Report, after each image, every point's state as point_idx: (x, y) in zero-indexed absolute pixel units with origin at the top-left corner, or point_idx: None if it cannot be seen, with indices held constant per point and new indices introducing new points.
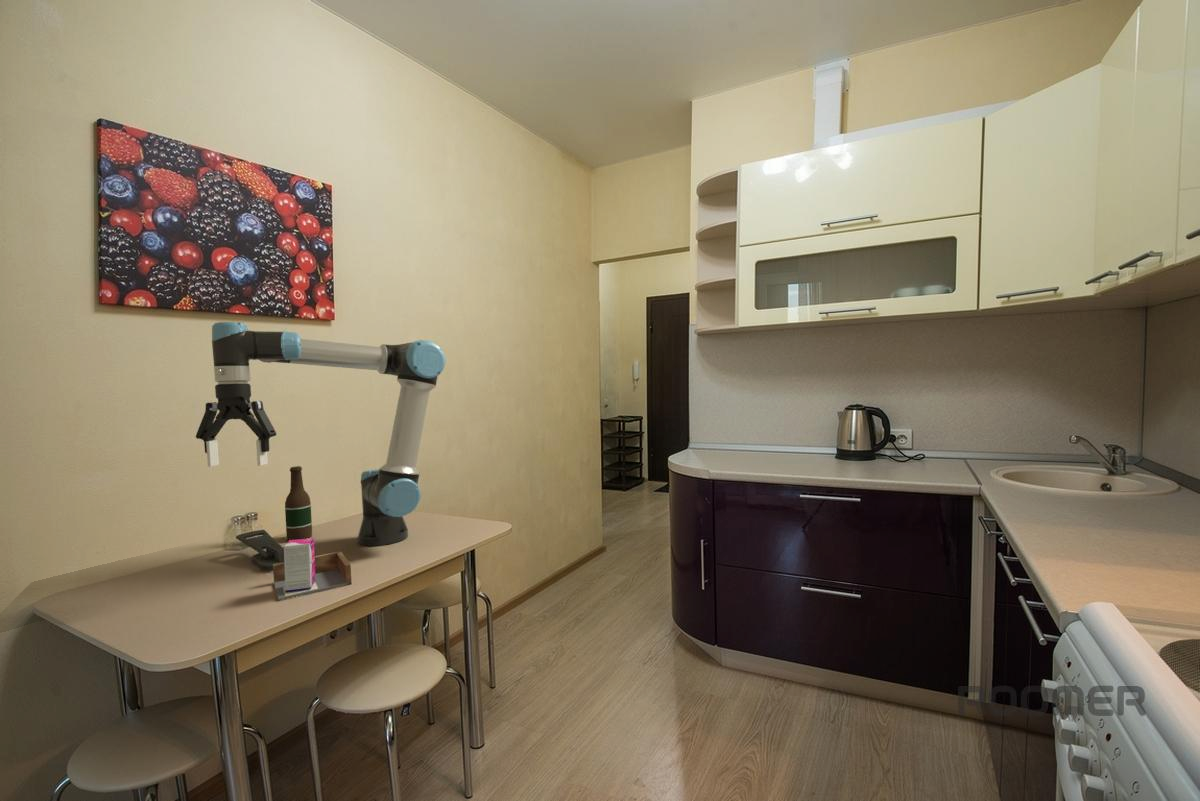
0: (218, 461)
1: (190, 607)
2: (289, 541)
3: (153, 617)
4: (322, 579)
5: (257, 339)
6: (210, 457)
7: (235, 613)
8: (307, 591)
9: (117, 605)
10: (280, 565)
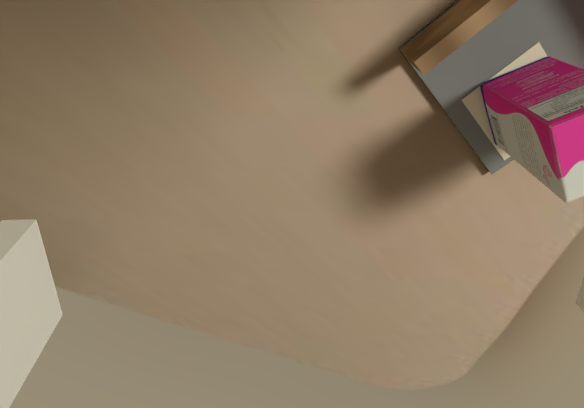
0: (17, 243)
1: (275, 211)
2: (560, 147)
3: (233, 260)
4: (563, 32)
5: None
6: (16, 381)
7: (420, 236)
8: None
9: (58, 208)
10: (441, 59)
